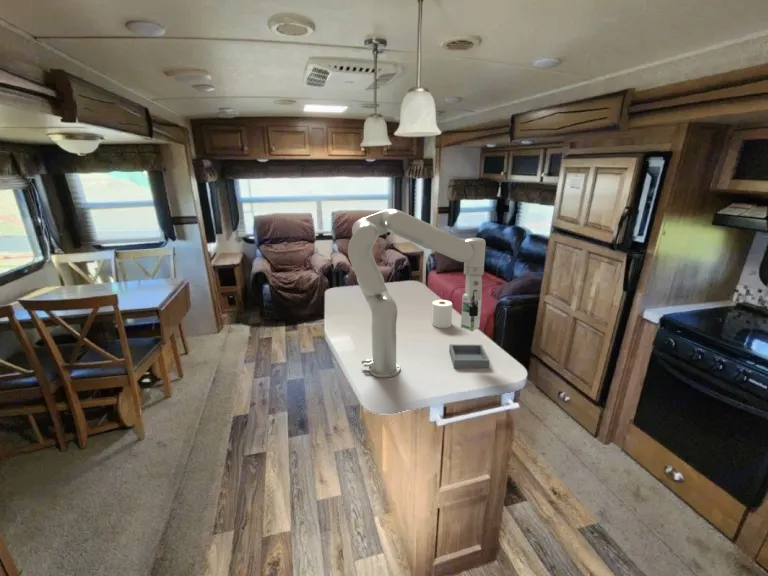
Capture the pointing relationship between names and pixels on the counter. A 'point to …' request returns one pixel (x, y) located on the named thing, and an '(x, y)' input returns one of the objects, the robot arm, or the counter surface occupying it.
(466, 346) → the box
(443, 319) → the toilet paper
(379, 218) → the robot arm
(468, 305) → the syrup box
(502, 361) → the counter surface
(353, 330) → the counter surface
